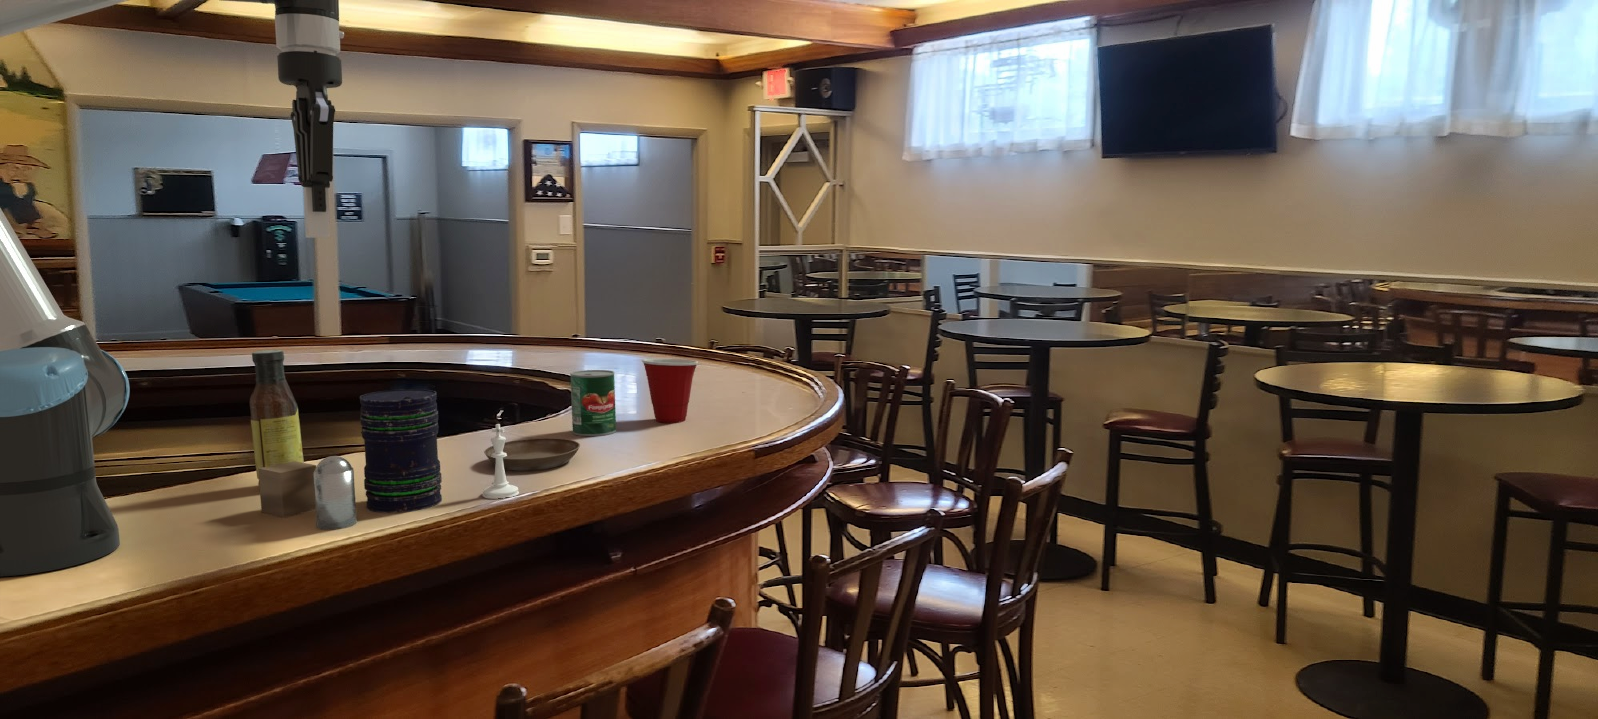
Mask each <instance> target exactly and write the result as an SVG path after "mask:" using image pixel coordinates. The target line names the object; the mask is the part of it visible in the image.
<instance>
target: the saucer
mask: <svg viewBox="0 0 1598 719" xmlns="http://www.w3.org/2000/svg"><path fill="white" fill-rule="evenodd" d="M580 447H581V444H580V442H578V441H576V440H573V439H567V438H558V437H556V438H555V437H554V438H553V437H542V438H541V437H538V438H537V437H536V438H525V439H516V440H511V441H505V444H504V448H503V452H504V453H506V454H507V456H506V457H503V463H504V470H508V471H519V472H520V471H521V472H522V471H524V472H525V471H542V470H547V469H553V468H556V467H561V466H563V465H565V464H567V463H568V462H569V461H570V460H571V459H572V458H573V457H574V456H575V455H576V454H577V452H578V450H579V448H580ZM483 453H484V455H485V456H486V457H487V458H488V460H490V461H491V463H492V464H494V465H496V458H493V457H491V456H492V454H493V453H495V449H494V447H493V445H492V446H488V447H487V448H486V449H485V450H484V451H483Z"/></svg>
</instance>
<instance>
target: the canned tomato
mask: <svg viewBox="0 0 1598 719" xmlns="http://www.w3.org/2000/svg"><path fill="white" fill-rule="evenodd" d="M569 375H570V390H571V391H570V394H571V395H570V397H571V415H572V416H571V419H572V422H571V423H572V430H571V432H572V434H573V435H575V436H578V437H579V436H580V437H602V436H609V435H613V434H615V433H616V432H617V420H616V418H617V414H616V412H617V411H616V390H615V388H616V386H615V371H613V370H606V369H586V370H577V371H572V372H570V374H569Z"/></svg>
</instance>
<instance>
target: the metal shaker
mask: <svg viewBox="0 0 1598 719" xmlns="http://www.w3.org/2000/svg"><path fill="white" fill-rule="evenodd" d="M313 473H314V488H315V503H316V510H315V515H316V528H317V529H319V530H326V531H330V530H331V531H332V530H333V531H334V530H340V529H346V528H350V527H353V526H355V525H356V524H357V523H358V522H357V519H358V518H357V504H356V491H355V490H356V488H355V474H354V473H355V471H354V467H352V465H351V463H350V462H349V461H348V460H347V458H344V457H342V456H340V455H330V456H327V457H325V458H323V459H322V460H320V461H319V462H318V463H317V465H316V469H315V471H314V472H313Z"/></svg>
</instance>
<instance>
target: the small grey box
mask: <svg viewBox="0 0 1598 719" xmlns="http://www.w3.org/2000/svg"><path fill="white" fill-rule="evenodd" d="M316 466H317V465H316V464H311V463H306V462H304V463H302V462H296V461H292V462H287V463H282V464H277V465H272V466H268V467H263V468H258V472H259V479H258V482H259V483H258V484H259V485H260V487H259V493H260V494H259V495H260V498H259V499H260V506H261V507H260V508H261V509H260V510H261V514H266V515H269V516H270V515H271V516H274V517H279V518H283V519H284V518H288V517H292V516H295V515H296V516H297V515H301V514H303V513H307V512H313V511H316V503H315V488H314V473H313V472H314V471H315V469H316ZM259 485H258V486H259Z"/></svg>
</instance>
